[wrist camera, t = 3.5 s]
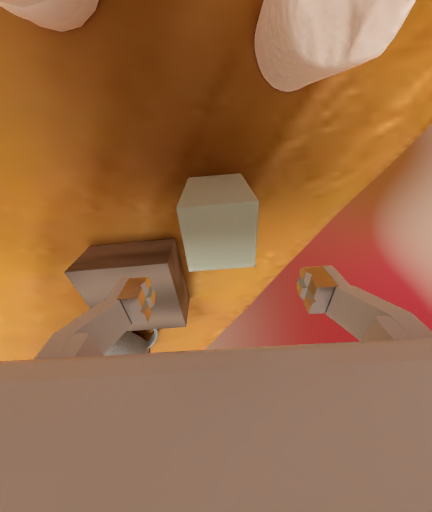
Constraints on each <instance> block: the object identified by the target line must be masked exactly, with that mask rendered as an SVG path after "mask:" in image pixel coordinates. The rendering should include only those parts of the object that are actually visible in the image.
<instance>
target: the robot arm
mask: <svg viewBox="0 0 432 512" xmlns="http://www.w3.org/2000/svg"><path fill="white" fill-rule="evenodd" d="M299 274H300V276H301V277H300V278H299V279H298V280H297V291H298V294H299V296H300V297H301V298H302V299H304V306H305V307H306V309H307V311H308V313H309V314H310V313H326V314H327V315H328V316H329V317H330V318H332V319H333V320H334V321H336V322H337V323H338V324H339V325H341V326H342V327H343V328H344V329H346V330H347V331H348V332H350V333H351V334H352V335H353V336H355V337H356V338H357V339H358V340H360V341H361V342H343V343H325V344H307V345H289V346H271V347H255V348H254V347H253V348H234V349H215V350H197V351H179V352H160V353H142V354H124V355H105V356H104V354H105V353H106V352H107V351H108V350H109V349H110V348H111V346H112V345H113V344H114V343H115V342H116V341H117V340H118V339H119V338H120V337H121V336H122V335H123V334H124V333H125V332H126V331H127V330H128V329H129V328H130V326H131V325H132V324H140V323H148V321H149V318H150V315H151V310H150V309H151V308H152V307H153V306H154V303H155V291H154V289H153V288H152V287H151V283H152V282H151V280H150V278H149V277H140V278H121V279H119V280H118V282H117V283H116V285H115V287H114V288H113V290H112V291H111V293H110V294H109V296H108V298H107V299H106V301H102V302H100V303H99V304H97V305H96V306H94V307H93V308H91V309H90V310H88V311H87V312H85V313H84V314H82V315H81V316H79V317H78V318H76V319H75V320H73V321H72V322H70V323H69V324H67V325H66V326H64V327H63V328H61V329H60V330H58V331H57V332H55V333H54V334H53V335H52V337H51V338H50V339H49V340H48V342H47V343H46V344H45V346H44V347H43V348H42V349H41V351H40V352H39V353H38V355H37V356H36V357H35V358H34V359H32V360H14V361H0V512H432V331H431V330H430V329H429V328H427V327H426V326H425V325H424V324H423V323H422V322H421V321H420V320H419V319H417V318H416V317H415V316H414V315H413V314H412V313H410V312H408V311H406V310H404V309H402V308H399V307H397V306H395V305H393V304H391V303H389V302H387V301H384V300H383V299H381V298H378V297H376V296H374V295H372V294H370V293H368V292H366V291H364V290H362V289H359V288H357V287H355V286H350V285H349V284H348V283H347V281H346V280H345V279H344V278H343V277H342V276H341V275H340V274H339V273H338V272H337V270H336V269H334V267H333V266H331V265H329V266H320V267H305V268H301V269H300V272H299Z"/></svg>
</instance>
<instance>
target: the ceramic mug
mask: <svg viewBox="0 0 432 512" xmlns="http://www.w3.org/2000/svg"><path fill="white" fill-rule="evenodd" d="M153 330H154V334H153V335H152V337H151V338H150V339H149V340H148V341H147V342H146V341H145V340H144V339H143V338H142V337H140V336H138V335H136V334H135V333H133V332H131V331H126V332H125V333H124V334H123V335H122V336H121V337H120V338H119V339H118V340H117V341H116V342H115V343H114V344H113V345H112V346H111V348H110V349H109V350H108V351H107V352H106V353H105V354H104V356H105V355H124V354H142V353H150V347H151V346H152V345H153V344H154V343H155V341H156V340H157V337H158V329H153Z"/></svg>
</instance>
